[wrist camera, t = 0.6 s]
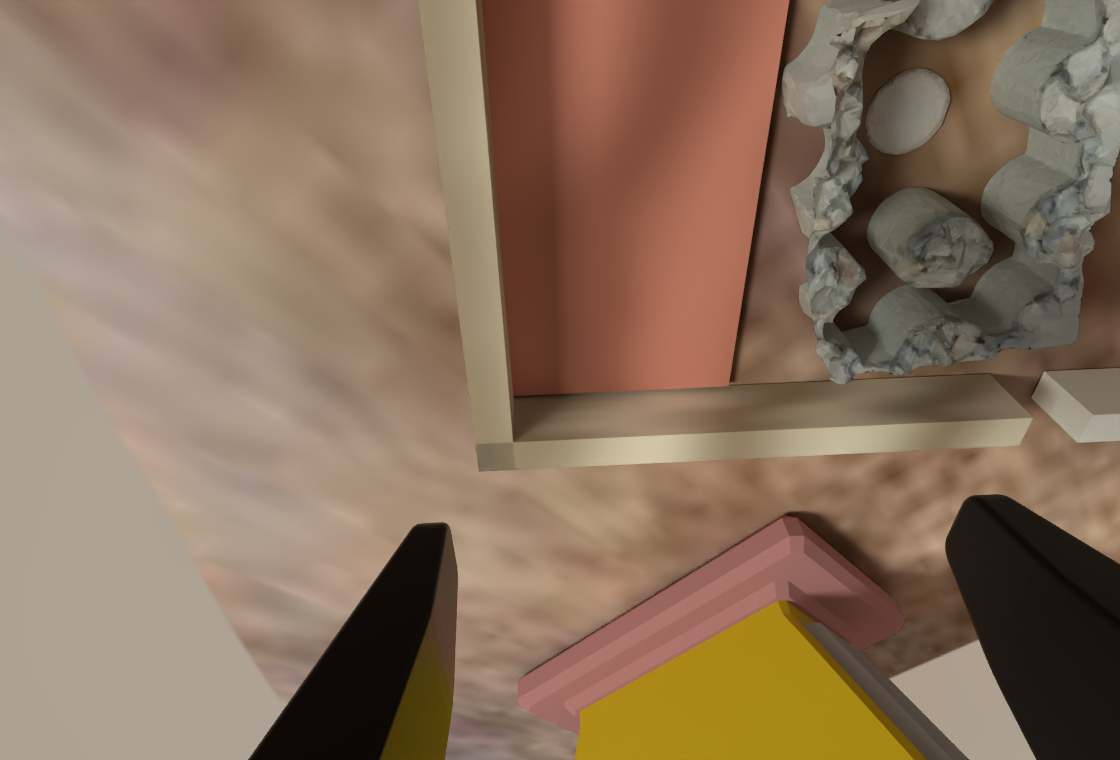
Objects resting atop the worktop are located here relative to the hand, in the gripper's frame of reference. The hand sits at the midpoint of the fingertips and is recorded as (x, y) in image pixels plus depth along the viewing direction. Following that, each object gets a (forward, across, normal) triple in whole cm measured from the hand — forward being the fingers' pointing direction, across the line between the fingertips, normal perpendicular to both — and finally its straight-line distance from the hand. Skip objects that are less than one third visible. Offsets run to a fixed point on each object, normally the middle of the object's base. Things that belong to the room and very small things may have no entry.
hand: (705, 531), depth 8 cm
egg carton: (+14, -9, 0) cm, 16 cm away
